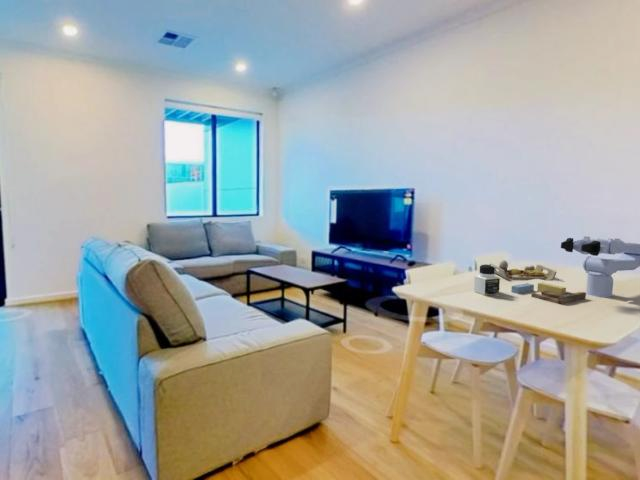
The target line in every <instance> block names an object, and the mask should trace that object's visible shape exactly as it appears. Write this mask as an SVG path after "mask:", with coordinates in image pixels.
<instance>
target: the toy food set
mask: <svg viewBox="0 0 640 480" xmlns="http://www.w3.org/2000/svg"><path fill="white" fill-rule="evenodd" d="M489 265H493V266H495V275H498V276H500V277H502V278H503V279H505V280H507V281H532V280H542V281H552V280H554V279H555V277H556V275H557V271H556V270H554V269H551V268H549V267H546V266H544V265H541V264H536V267H535V266H534V265H529V266H525V267H524V269H518V268H512V269H508V267H509V263H508V262H507V261H506V260H501V262H500V263H499V265H498V266H497V265H495V264H493V263H489ZM545 270H546V271H547V273H545V272H543V271H545Z"/></svg>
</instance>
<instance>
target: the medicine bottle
mask: <svg viewBox="0 0 640 480" xmlns="http://www.w3.org/2000/svg"><path fill="white" fill-rule="evenodd" d="M493 265H494V264H493ZM493 265H490V264H481V265H480V266H479V274H476V275H474V284H473V285H474V286H473V291H474V293H477V294H480V295H482V296H485V297H486V296H494V295H495V296H496V295H498V294H499V293H500V280H501V279H500V277H498V276H496V273H495V266H496V265H495V266H493Z"/></svg>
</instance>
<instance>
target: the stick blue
mask: <svg viewBox="0 0 640 480" xmlns="http://www.w3.org/2000/svg"><path fill="white" fill-rule="evenodd" d="M534 289H535V285H534V284H532V283H528V282H526V283H520V284H516V285H511V293H513V294H517V295H519V294H523V293H524V294H525V293H531V292H534V291H535V290H534Z"/></svg>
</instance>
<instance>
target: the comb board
mask: <svg viewBox="0 0 640 480" xmlns="http://www.w3.org/2000/svg"><path fill="white" fill-rule="evenodd" d="M585 292H586V291H584V292H581V291H577V292H571V291H566V295H561V294H557V293H553V292H548V291H543V292H540V293H541V294H539V293H536V292H533V293H531V295H530V296H531V298H535V299H539V300H543V301H546V302H549V303H553V304H557V305H565V304H569V303H573V302H578V301H582V300H586V296H587V295H586V293H585Z"/></svg>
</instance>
